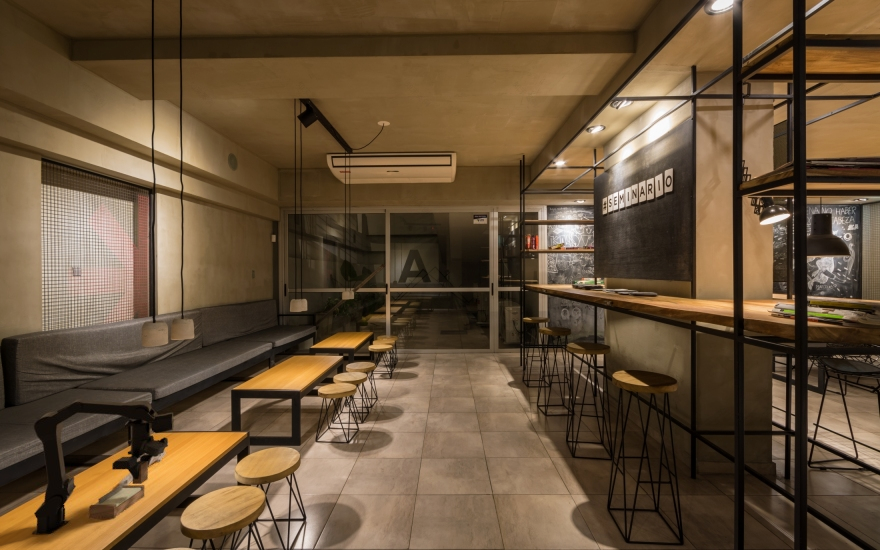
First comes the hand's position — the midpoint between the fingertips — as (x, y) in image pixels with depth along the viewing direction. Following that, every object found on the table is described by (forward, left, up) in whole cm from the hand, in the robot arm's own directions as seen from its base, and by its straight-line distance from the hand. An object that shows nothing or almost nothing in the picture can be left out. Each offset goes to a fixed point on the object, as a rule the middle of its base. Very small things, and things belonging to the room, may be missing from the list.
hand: (140, 476), depth 141 cm
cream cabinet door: (0, +8, -8) cm, 11 cm away
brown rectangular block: (0, 0, -2) cm, 2 cm away
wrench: (+28, +19, -12) cm, 36 cm away
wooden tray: (0, +8, -11) cm, 14 cm away
